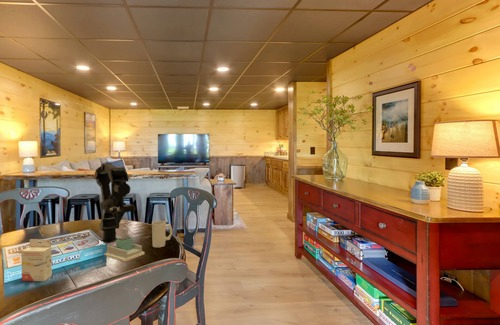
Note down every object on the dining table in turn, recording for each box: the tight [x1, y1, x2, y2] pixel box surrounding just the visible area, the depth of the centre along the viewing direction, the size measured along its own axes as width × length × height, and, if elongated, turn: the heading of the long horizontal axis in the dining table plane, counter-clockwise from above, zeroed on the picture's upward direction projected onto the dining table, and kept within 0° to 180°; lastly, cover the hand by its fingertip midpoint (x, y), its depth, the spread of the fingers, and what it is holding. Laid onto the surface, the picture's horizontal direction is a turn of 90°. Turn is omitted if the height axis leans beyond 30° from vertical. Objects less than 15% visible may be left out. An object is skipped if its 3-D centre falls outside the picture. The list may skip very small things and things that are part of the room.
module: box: [115, 235, 134, 251], centre depth 142 cm, size 6×4×6 cm, turn 149°
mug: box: [151, 220, 173, 249], centre depth 156 cm, size 10×7×12 cm, turn 103°
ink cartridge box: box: [20, 238, 53, 282], centre depth 116 cm, size 9×5×15 cm, turn 92°
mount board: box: [104, 243, 145, 263], centre depth 143 cm, size 14×11×4 cm
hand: (117, 223), depth 152 cm, fingers closed
